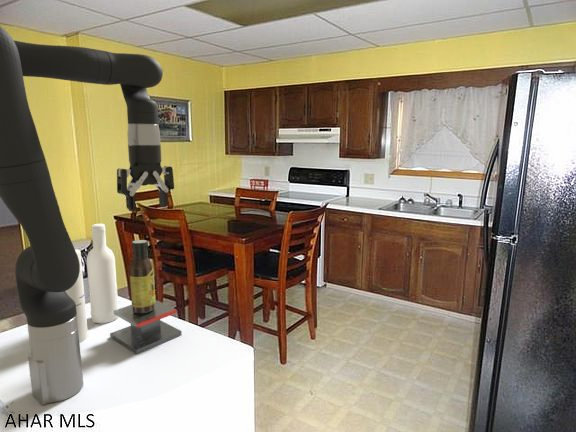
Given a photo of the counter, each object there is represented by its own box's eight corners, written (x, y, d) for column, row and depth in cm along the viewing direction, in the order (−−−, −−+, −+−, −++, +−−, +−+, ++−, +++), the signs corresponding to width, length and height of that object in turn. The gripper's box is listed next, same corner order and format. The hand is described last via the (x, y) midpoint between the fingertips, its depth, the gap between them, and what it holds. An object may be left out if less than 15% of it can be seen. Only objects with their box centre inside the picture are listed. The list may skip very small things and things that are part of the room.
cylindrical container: (93, 333, 115) (86, 249, 110) (78, 345, 108) (69, 257, 103) (69, 331, 115) (61, 248, 111) (53, 344, 108) (43, 256, 104)
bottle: (96, 326, 119) (87, 228, 113) (88, 317, 125) (79, 224, 119) (123, 318, 124) (116, 225, 119) (114, 310, 130) (107, 220, 124)
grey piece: (136, 354, 104) (134, 325, 102) (110, 337, 113) (108, 310, 111) (181, 334, 114) (180, 308, 113) (154, 320, 123) (153, 296, 122)
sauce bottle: (158, 311, 111) (154, 242, 107) (134, 316, 108) (130, 245, 104) (152, 303, 116) (149, 237, 112) (130, 308, 113) (125, 240, 109)
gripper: (161, 143, 105) (164, 204, 108) (108, 143, 94) (113, 210, 97) (178, 143, 100) (180, 207, 103) (124, 143, 89) (129, 214, 92)
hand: (148, 208), depth 100 cm, fingers open, 8 cm apart
